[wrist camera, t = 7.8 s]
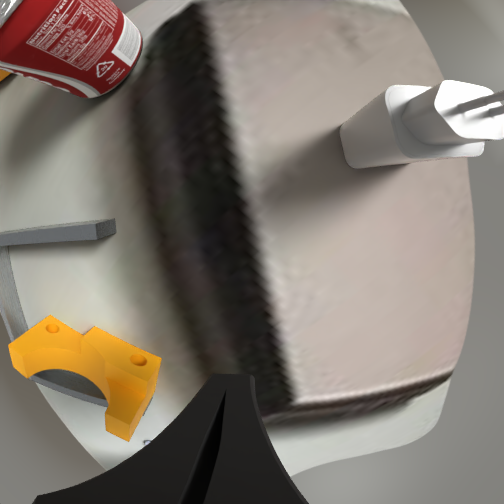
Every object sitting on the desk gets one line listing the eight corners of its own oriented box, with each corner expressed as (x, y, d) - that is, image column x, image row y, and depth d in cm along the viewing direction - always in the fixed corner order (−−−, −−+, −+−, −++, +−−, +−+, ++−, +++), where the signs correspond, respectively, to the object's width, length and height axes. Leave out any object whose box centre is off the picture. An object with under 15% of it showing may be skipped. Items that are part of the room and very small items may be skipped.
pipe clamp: (162, 357, 20) (131, 411, 13) (154, 390, 21) (128, 441, 14) (50, 299, 19) (5, 328, 13) (52, 334, 20) (13, 366, 14)
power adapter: (336, 122, 15) (446, 30, 3) (408, 118, 14) (539, 70, 3) (347, 170, 16) (485, 148, 4) (417, 162, 15) (561, 154, 3)
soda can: (158, 24, 14) (80, -69, 2) (130, 100, 15) (1, 39, 3) (92, 33, 14) (5, -23, 2) (65, 102, 15) (-48, 73, 3)
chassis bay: (152, 398, 21) (143, 415, 18) (39, 367, 22) (27, 378, 19) (114, 218, 17) (95, 223, 15) (1, 232, 18) (-16, 236, 16)
